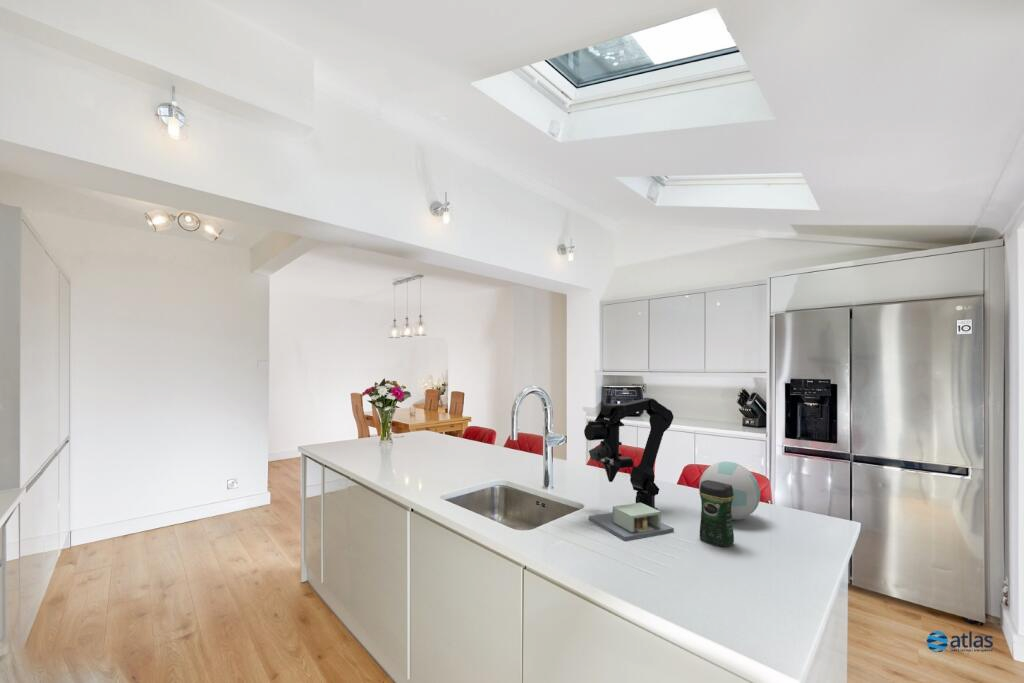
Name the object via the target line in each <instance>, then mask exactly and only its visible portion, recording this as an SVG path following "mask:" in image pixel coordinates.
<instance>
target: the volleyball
mask: <svg viewBox="0 0 1024 683" xmlns="http://www.w3.org/2000/svg"><path fill="white" fill-rule="evenodd" d="M705 480H711V481H716V482H720V483H725V484H729V485H732V488H733V494H734V498H733V501H732V505H731V513H732V521H733V520H742V519H744V518H747V517H749V516H751V515H752V514H753V513H754V512H755V511H756V510H757V508H758V507H759V506H758V505H759V503H760V500H761V489H760V485H759V483H758V481H757V478H756V477H755V476H754V474H753V473H752V472H751V470H749V469H748V468H746V467H745V466H743V465H741V464H739V463H736V462H733V461H720V462H715V463H713V464H712V465H710V466H708V467H707V468H706V469H705V470H704V471H703V473H702V474H701V477H700V478H699V486H698V487H699V488H698V489H699V491H698V492H700V485H701V482H702V481H705Z"/></svg>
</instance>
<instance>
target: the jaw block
mask: <svg viewBox="0 0 1024 683" xmlns="http://www.w3.org/2000/svg"><path fill="white" fill-rule="evenodd" d="M642 520H647V516H646V517H639V518H634V527H635V528H642Z"/></svg>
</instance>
